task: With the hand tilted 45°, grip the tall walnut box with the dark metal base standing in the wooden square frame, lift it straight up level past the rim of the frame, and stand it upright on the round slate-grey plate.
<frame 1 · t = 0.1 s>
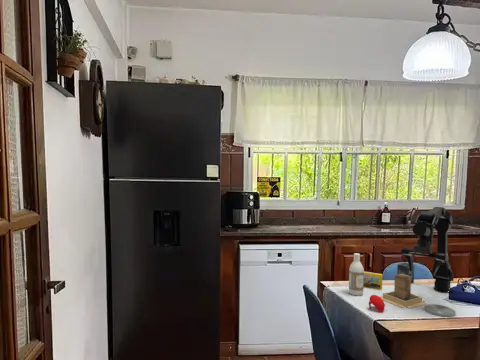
hand: (422, 273, 160), 15 cm above the table, tool pointing down, fingers open, 9 cm apart
walnut box: (402, 288, 169), in the wooden square frame
cap: (376, 310, 157), on the table
wooden square frame: (402, 300, 169), on the table
plate: (439, 311, 156), on the table
candy box: (365, 287, 189), on the table
box: (405, 283, 198), on the table
bath foam: (355, 294, 178), on the table
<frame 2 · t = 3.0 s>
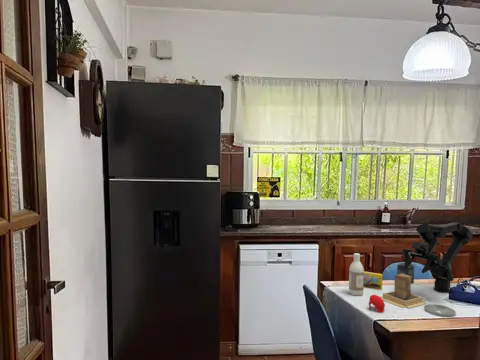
hand: (413, 270, 173), 13 cm above the table, tool tilted 45°, fingers open, 9 cm apart
nothing on the table moved.
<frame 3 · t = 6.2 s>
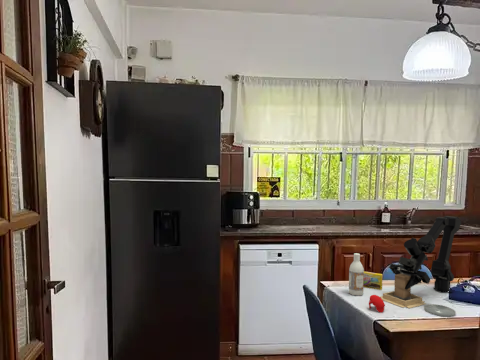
hand: (400, 287, 168), 7 cm above the table, tool tilted 45°, fingers closed on walnut box, 5 cm apart
walnut box: (402, 288, 169), in the wooden square frame, touching gripper
everything else where it was.
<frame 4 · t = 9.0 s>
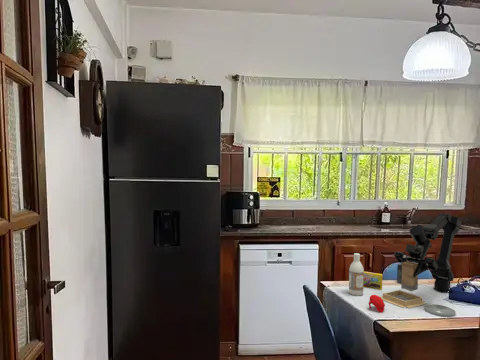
hand: (408, 275, 165), 13 cm above the table, tool tilted 45°, fingers closed on walnut box, 5 cm apart
walnut box: (409, 275, 166), point 13 cm above the table, touching gripper
everything else where it was.
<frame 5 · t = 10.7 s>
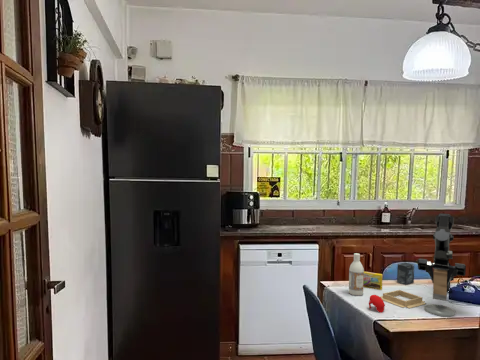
hand: (440, 283, 155), 13 cm above the table, tool tilted 45°, fingers closed on walnut box, 5 cm apart
walnut box: (440, 284, 156), point 12 cm above the table, touching gripper
everything else where it was.
when the fingers open (9 cm above the table, at t = 12.2 s): walnut box stays where it is, resting on plate.
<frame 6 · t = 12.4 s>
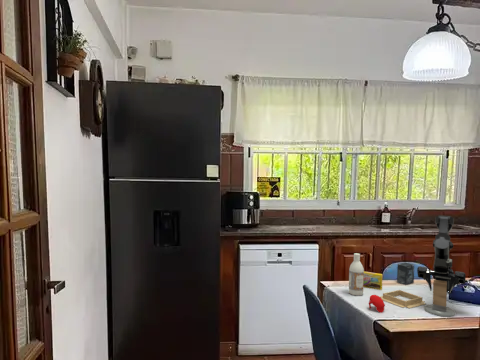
hand: (439, 291, 155), 9 cm above the table, tool tilted 45°, fingers open, 7 cm apart
walnut box: (439, 295, 156), on the plate, point 7 cm above the table
everything else where it was.
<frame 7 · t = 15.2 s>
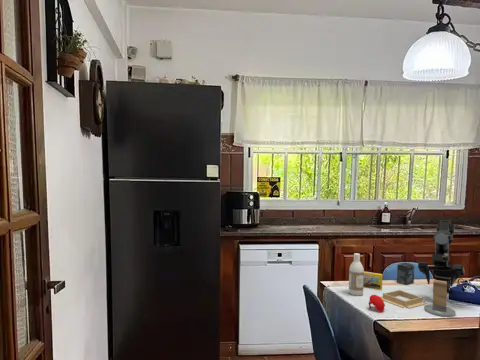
hand: (439, 285, 163), 9 cm above the table, tool tilted 40°, fingers open, 9 cm apart
nothing on the table moved.
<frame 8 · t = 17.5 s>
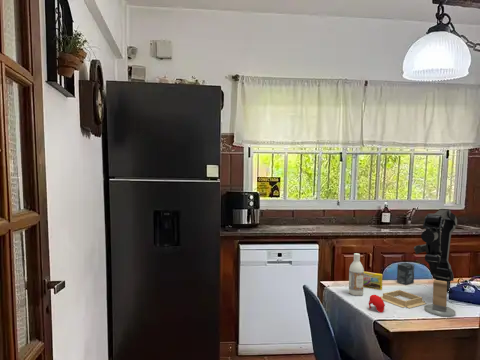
hand: (432, 272, 171), 13 cm above the table, tool pointing down, fingers open, 9 cm apart
nothing on the table moved.
at the end: walnut box inside the target area on the plate (0.0 cm from its centre), point 7.0 cm above the plate's base; walnut box tilted 0°; the gripper is holding nothing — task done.
